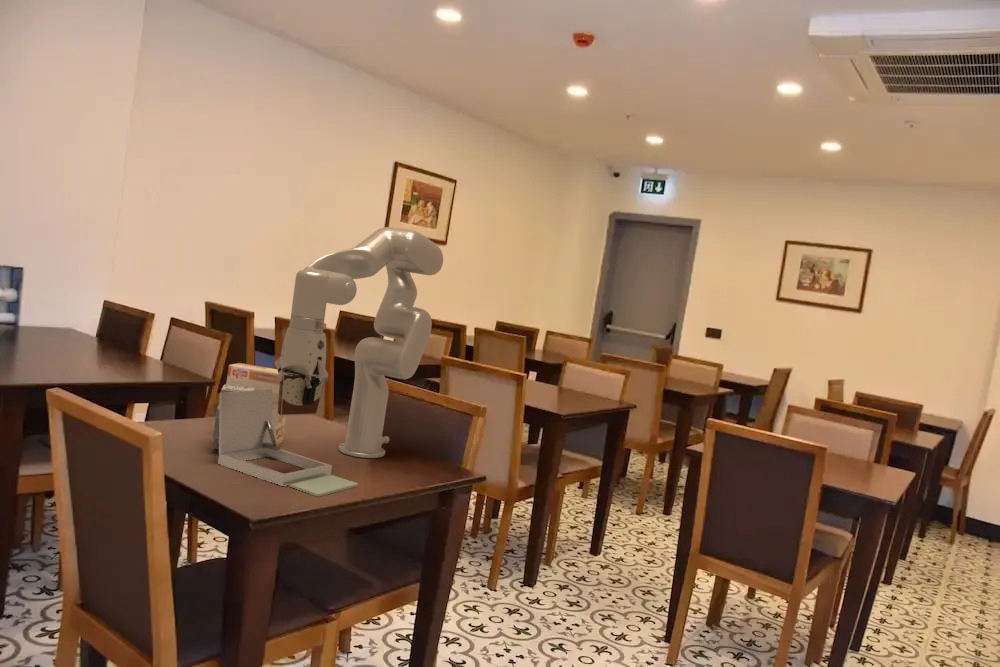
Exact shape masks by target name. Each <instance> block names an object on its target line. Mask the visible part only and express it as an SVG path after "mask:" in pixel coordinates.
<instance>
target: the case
mask: <svg viewBox="0 0 1000 667" xmlns="http://www.w3.org/2000/svg"><path fill="white" fill-rule="evenodd" d="M218 396H219V400H218V402H219V403H218V406H219V450H218V459H217V465H219V464H220V465H219V466H222V467H225V468H228V469H230V468H231V469H230V470H233V469H234V470H233V471H236V470H237V471H236V472H239V471H240V473H242V472H243V473H242V474H245V475H247V476H251V477H253V476H254V478H256V477H257V479H259V480H263V481H265V480H266V482H268V483H271V482H272V483H271V484H274V483H275V484H274V485H276V484H278V485H277V486H279V485H280V486H279V487H282V486H284V487H287V485H288V486H290V484H294V483H299V482H303V481H307V480H312V479H316V478H320V477H325V476H329V475H332V471H333V470H332V469H333V465H332V464H328V463H325V462H324V461H323V462H322V461H319V460H316V459H313V458H310V457H307V456H304V455H301V454H298V453H295V452H290V451H288V450H285V449H282V448H281V445H280V444H278V445H277V444H276V440H275V436H274V433H273V429H272V389H268V390H253V391H238V392H223V393H221V392H219V395H218ZM263 457H264V458H270V457H271V458H270V459H274V460H277V461H280V462H283V463H285V464H286V463H287V464H290V465H292V466H295V467H299V468H302V470H301V469H300V470H297V471H291V472H286V473H283V472H280V471H277V470H276V469H275V470H274V469H271V468H268V467H266V466H263V465H259V464H256V463H253V462H250V461H251V460H252V459H253V460H257V458H258V459H263ZM246 460H247V461H246Z"/></svg>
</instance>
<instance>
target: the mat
mask: <svg viewBox="0 0 1000 667" xmlns="http://www.w3.org/2000/svg"><path fill="white" fill-rule="evenodd" d="M290 487H292V488H291V489H293V488H295V490H296V489H297V491H299V490H300V492H302V491H303V492H302V493H305V492H306V493H305V494H308V493H309V494H308V495H311V496H314V497H316V496H317V497H316V498H318V497H319V498H320V497H323V496H326V495H329V494H335V493H337V492H342V491H346V490H349V489H354V488H356V487H357V488H358V487H359V483H357V482H355V481H352V480H348V479H345V478H342V477H339V476H336V475H333V474H331V475H329V476H325V477H320V478H316V479H312V480H307V481H303V482H299V483H294V484H290V485H289V488H290Z"/></svg>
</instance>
